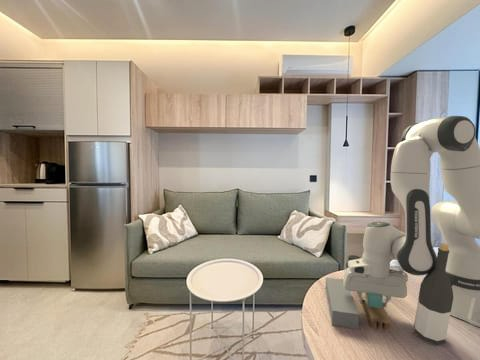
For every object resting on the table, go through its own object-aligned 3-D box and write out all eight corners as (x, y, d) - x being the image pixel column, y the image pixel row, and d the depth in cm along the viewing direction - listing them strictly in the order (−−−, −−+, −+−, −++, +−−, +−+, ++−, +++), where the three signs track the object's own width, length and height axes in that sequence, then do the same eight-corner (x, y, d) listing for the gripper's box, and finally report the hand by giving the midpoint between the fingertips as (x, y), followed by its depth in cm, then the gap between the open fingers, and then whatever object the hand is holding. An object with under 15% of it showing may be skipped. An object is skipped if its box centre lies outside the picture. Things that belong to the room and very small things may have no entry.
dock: (345, 291, 104) (346, 279, 104) (358, 329, 81) (358, 314, 81) (325, 288, 106) (325, 277, 106) (332, 325, 83) (332, 310, 82)
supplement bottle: (358, 280, 114) (360, 254, 113) (364, 287, 107) (366, 260, 106) (343, 279, 115) (344, 253, 114) (348, 287, 108) (349, 259, 107)
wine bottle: (421, 343, 75) (437, 250, 69) (408, 323, 82) (421, 237, 77) (451, 347, 73) (470, 252, 67) (435, 326, 81) (451, 239, 75)
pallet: (373, 297, 100) (373, 289, 99) (389, 331, 80) (390, 320, 80) (358, 296, 101) (358, 287, 101) (370, 328, 82) (371, 317, 81)
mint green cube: (378, 302, 90) (379, 291, 90) (382, 308, 86) (382, 297, 86) (366, 300, 91) (366, 289, 91) (369, 306, 87) (369, 295, 87)
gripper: (404, 267, 90) (401, 304, 91) (343, 260, 95) (341, 295, 96) (412, 275, 84) (408, 314, 85) (346, 267, 89) (344, 304, 90)
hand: (372, 304), depth 90 cm, fingers closed on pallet, 6 cm apart
